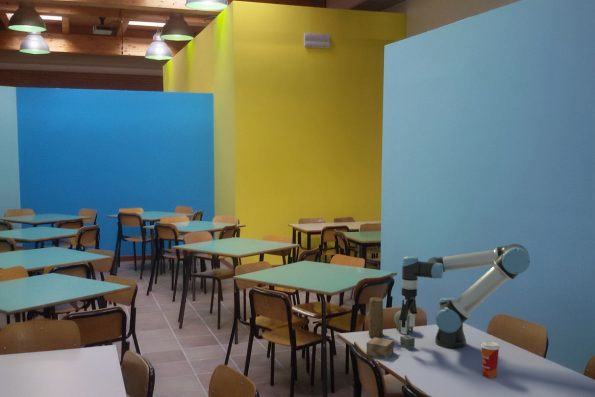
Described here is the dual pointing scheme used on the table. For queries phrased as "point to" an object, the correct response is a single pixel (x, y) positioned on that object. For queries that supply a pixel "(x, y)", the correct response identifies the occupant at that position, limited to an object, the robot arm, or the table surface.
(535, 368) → the table surface
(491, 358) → the paper cup
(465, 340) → the robot arm
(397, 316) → the cream beehive honey pot
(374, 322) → the brown oblong lump
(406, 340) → the dice cube
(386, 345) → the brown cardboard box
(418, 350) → the table surface
